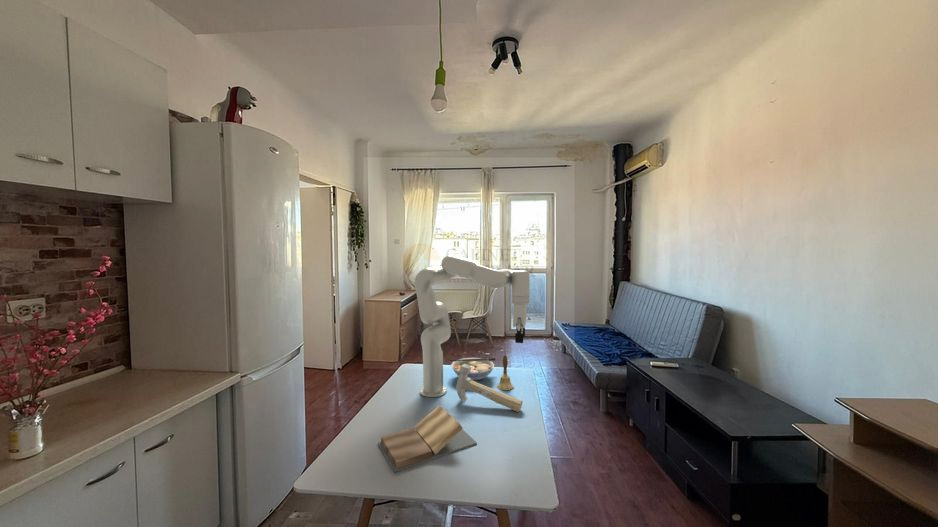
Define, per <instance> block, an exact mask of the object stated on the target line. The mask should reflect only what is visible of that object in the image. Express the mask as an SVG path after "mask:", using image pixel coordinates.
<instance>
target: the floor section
mask: <svg viewBox="0 0 938 527" xmlns="http://www.w3.org/2000/svg"><path fill="white" fill-rule="evenodd" d="M380 439H381V440H380V441H378V442H377V445H378V444H379V445H378V446H380V447H379V448H380V450H381V452H382V451H383V452H382V454H383V453H384V454H383V456H384V457H385V459H386V461H387V462H388V464H389V466H390V468H391V469H392V471H393V473H397V472H400V471H402V470H406V469H409V468H411V467H414V466H417V465H420V464H423V463H426V462H429V461H433V460H435V459H438V458H440V457H444V456H446V455H450V454H452V453H456V452H458V451H461V450H462V451H463V450H465V449H466V448H467V449H468V448H470V447H473V446H476V445H477V444H478V442H477V441H476V440H474V438H473V437H472V436H470V435H469V434H468V433H467V432H466V431H465V430H464V429H462V430H461V431H460V432H459V433H458V434H457V435H456V436H454V437H453V438H452V439H451V440H450V441H449V442H448V443H447V444H446V445H445V446H444V447H443V448H442V449H441V450H440V451H439V452H438V453H437V454H435V453H434V452H433V451H432V449H431V448H430V447H429V446H428V445H427V443H426V442H425V441H424V440H423V438H422V437H421V436H420V435H419V433H418V432H417V431H416V430H415V428H414V427H411V428H408V429H403V430H400V431H397V432H394V433H389V434H386V435H383V436H381V437H380Z"/></svg>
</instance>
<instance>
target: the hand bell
mask: <svg viewBox="0 0 938 527" xmlns="http://www.w3.org/2000/svg"><path fill="white" fill-rule="evenodd" d="M508 362H509V360H508V356H507V355H506V354H503V357H502V367H503V373H502V375H500V379H499V383H498V384H497V385H496V389H498V390H500V389H501V390H500V391H511V390H513V389H514V388H515V386H514V385H513V384H512V382H511V378H510V376H509V375H508V370H507V368H508ZM512 388H513V389H512ZM510 389H511V390H510Z"/></svg>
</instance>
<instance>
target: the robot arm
mask: <svg viewBox="0 0 938 527" xmlns="http://www.w3.org/2000/svg"><path fill="white" fill-rule="evenodd" d="M456 276H458V277H462V278H465V279H469V280H472V282H476V283H478V284H480V285H482V286H486V287H490V288H493V289H502V288H505V287H506V288H507V287H511V304H513V308H512V310H513V311H512V312H513V314H512V328H515V341H514V343H516V344H523V343H524V338H525V337H526V328H525V327H526V322H527V313H528V310H527V305H529V304H530V288H531V286H530V284H531V283H530V282H531V280H530V277H531V276H530V272H529V271H528V270H523V269H518V270H517V269H516V270H515V269H514V270H513V269H509V268H503V269H493V268H489V267H487V266H483V265H481V264H480V263H479V262H478V261H477V260H474V259H470V258H466V257H464V255H462V254H447V255H446V256H444V257H443V259H442V260H441V263H440V265H438V266H437V265H436V266H429V267H425V268H423V269H421V270H419V272H417V273H416V276H415V277H414V290H415V293H416V298H417V305H418V311H419V318H420V321H421V322H422V323H423V324H424V325H431V324H432V325H431V326H428V327H426V328H425V329H423V331H422V333H421V334H420V344H421V349H422V350H421V351H422V371H423V372H422V375H423V376H422V382H423V384H422V385H423V386H422V387H421V388H420V391H419V393H420V395H421V396H423V397H425V398H426V397H427V398H437V397H442V396H443V395H445V394H446V393H447V387H446V386H444V355H443V354H444V353H443V350H442V347H441V344H443V343H445V342H447V341H448V340H449V339H450V338H451V334H452V328H451V323H450V322H451V321H450V318H449V311H448V308H447V306H446V304H444V303H443V302H441V301H437V299H436V294H435V291H434V290H433V288H432V286H434V285H440V284H444V283H446V282H448V281H450V280H451V279H452V278H455V277H456Z"/></svg>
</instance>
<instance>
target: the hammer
mask: <svg viewBox="0 0 938 527" xmlns="http://www.w3.org/2000/svg"><path fill="white" fill-rule="evenodd" d="M470 371H471V367H470V366H469V365H467V364H463V365H462V366H461V368H460V373H461V374H460V376H458V378H457V380H456V385H455V389H456V393H457V396H458V398H459V399H460V400H461V402H462V403H466V401H467V400H468V397H467V395H466V391H467V390H469V391H472V392H474V393H477V394H478V395H479V396H480V395H481V396H482V397H485V398H487V399H489V400H491V401H493V402H494V403H496V404H499V405H501V406H504V407H505V408H508V409H511V410H512V411H514V412H516V413H520V412H519V411H521V409H522V408H523V400H522V399H519V398H517V397H513V396H511V395H509V394H506V393H503V392H502V391H499V390H496V389H494V388H492V387H489V386H486V385H484V384H482V383H480V382H477V381H473V380H471V378H469V377H467V374H469V373H470Z"/></svg>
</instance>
